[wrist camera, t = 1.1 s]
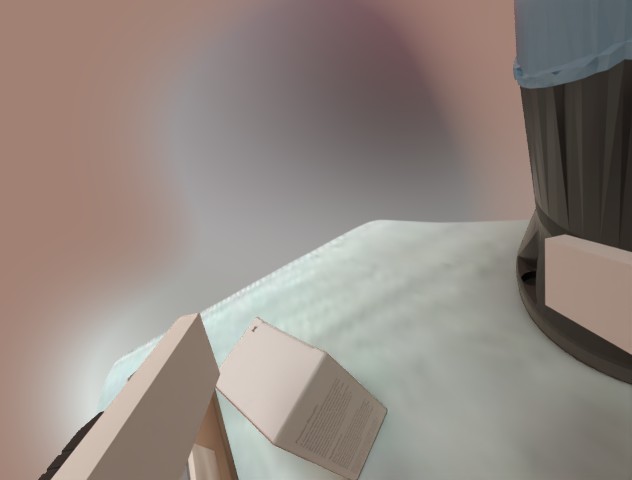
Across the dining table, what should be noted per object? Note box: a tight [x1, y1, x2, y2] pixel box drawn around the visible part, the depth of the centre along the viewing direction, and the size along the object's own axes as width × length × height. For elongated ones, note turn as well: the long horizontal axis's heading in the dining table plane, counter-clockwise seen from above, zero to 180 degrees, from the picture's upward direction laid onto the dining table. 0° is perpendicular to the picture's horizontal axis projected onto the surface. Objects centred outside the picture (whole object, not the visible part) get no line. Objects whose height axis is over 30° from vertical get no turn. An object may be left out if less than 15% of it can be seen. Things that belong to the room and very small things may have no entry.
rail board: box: [127, 372, 238, 480], centre depth 31 cm, size 10×24×4 cm, turn 33°
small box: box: [216, 317, 387, 480], centre depth 22 cm, size 8×6×10 cm
